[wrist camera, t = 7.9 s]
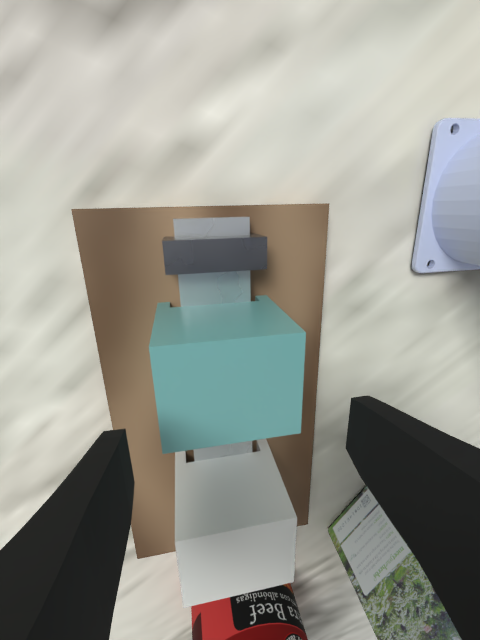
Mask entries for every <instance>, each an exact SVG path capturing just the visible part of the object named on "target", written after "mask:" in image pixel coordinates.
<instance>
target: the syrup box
mask: <svg viewBox="0 0 480 640" xmlns="http://www.w3.org/2000/svg"><path fill="white" fill-rule="evenodd" d="M328 532H329V535H330V537H331V539H332V541H333V543H334V546H335V548H336V550H337V552H338V554H339V556H340V558H341V561H342V563H343V565H344V567H345V569H346V571H347V574H348V576H349V578H350V581H351V583H352V585H353V587H354V589H355V591H356V593H357V595H358V598H359V600H360V602H361V604H362V607H363V609H364V611H365V613H366V615H367V617H368V620H369V622H370V624H371V626H372V628H373V631H374V633H375V635H376V637H377V639H378V640H462V639H461V637H460V636H459V634H458V632H457V630H456V628H455V626H454V625H453V623H452V621H451V619H450V617H449V615H448V613H447V612H446V610H445V608H444V606H443V604H442V602H441V601H440V599H439V597H438V595H437V594H436V592H435V590H434V588H433V587H432V585H431V583H430V581H429V580H428V578H427V576H426V575H425V573H424V571H423V569H422V568H421V566H420V564H419V562H418V561H417V559H416V558H415V556H414V555H413V553H412V551H411V550H410V548H409V547H408V545H407V544H406V542H405V541H404V539H403V538H402V537H401V535H400V534H399V532H398V531H397V529H396V528H395V526H394V525H393V523H392V522H391V521H390V519H389V518H388V516H387V515H386V513H385V512H384V510H383V509H382V508H381V506H380V505H379V503H378V502H377V500H376V499H375V497H374V496H373V494H372V493H371V491H370V490H369V488H368V487H367V486H366V487H365V488H364V489H363V490H362V491H361V493H360V494H359V495H358V496H357V497H356V498H355V499H354V500H353V501H352V503H351V504H350V505H349V506H348V507H347V508H346V509H345V510H344V512H343V513H342V514H341V515H340V516H339V517H338V518H337V519H336V520H335V522H334V523H333V524H332V525H331V526H330V527H329V528H328Z"/></svg>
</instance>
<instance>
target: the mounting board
mask: <svg viewBox="0 0 480 640" xmlns="http://www.w3.org/2000/svg"><path fill="white" fill-rule="evenodd" d="M71 210H72V215H73V220H74V225H75V231H76V236H77V241H78V247H79V252H80V257H81V263H82V268H83V273H84V278H85V284H86V289H87V294H88V300H89V305H90V310H91V315H92V321H93V326H94V331H95V337H96V342H97V347H98V352H99V358H100V363H101V368H102V374H103V379H104V384H105V389H106V395H107V400H108V405H109V411H110V416H111V421H112V427H113V430H118V429H126V435H127V440H128V446H129V452H130V458H131V464H132V469H133V475H134V481H135V486H134V498H133V510H132V519H131V527H132V532H133V538H134V543H135V548H136V554H137V559H140V558H145V557H150V556H155V555H159V554H164V553H169V552H174V551H176V548H175V452H173V453H167V454H162V446H161V438H160V430H159V423H158V415H157V407H156V399H155V391H154V384H153V376H152V368H151V360H150V353H149V344H150V339H151V334H152V328H153V323H154V318H155V313H156V308H157V303H161V302H170V308H171V307H181V303H180V292H179V281H178V275H165V265H164V255H163V246H162V240H163V238H164V237H170V236H175V235H174V224H173V219H174V218H209V217H250V233H256V234H260V235H263V236H266V237H267V269H265V270H250V292H251V301H255V296H259V295H267V296H268V297H269V298H270V299H271V300H272V301H273V302H274V303H275V304H276V305H277V306H278V307H280V308H281V309H282V310H283V311H284V312H285V313H286V314H287V315H288V316H289V317H290V318H291V319H292V320H293V321H294V322H296V323H297V324H298V325H299V326H300V327H301V328H302V329H303V330H304V331H305V332H306V342H305V361H304V381H303V400H302V419H301V433H299V434H292V435H286V436H279V437H272V438H266V440H267V442H268V445H269V447H270V450H271V452H272V455H273V458H274V460H275V463H276V465H277V468H278V470H279V473H280V475H281V478H282V480H283V483H284V485H285V488H286V490H287V493H288V496H289V498H290V501H291V503H292V506H293V508H294V511H295V513H296V516H297V526H301V525H306V524H308V512H309V497H310V482H311V467H312V453H313V438H314V423H315V408H316V393H317V378H318V363H319V348H320V333H321V319H322V304H323V289H324V274H325V259H326V244H327V229H328V214H329V204H288V205H242V206H197V207H151V208H106V209H71ZM252 452H257V440H253V441H252ZM185 453H186V463H188V462H195V461H194V450H187V451H185Z"/></svg>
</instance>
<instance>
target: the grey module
mask: <svg viewBox="0 0 480 640" xmlns="http://www.w3.org/2000/svg"><path fill="white" fill-rule="evenodd" d="M296 531H297V516H296V513H295V511H294V508H293V506H292V503H291V501H290V498H289V496H288V493H287V490H286V488H285V485H284V483H283V480H282V478H281V475H280V473H279V470H278V468H277V465H276V463H275V460H274V458H273V455H272V452H271V450H270V447H269V445H268V442H267V440H266V439H259V440H257V452H251V453H245V454H239V455H232V456H226V457H220V458H214V459H207V460H201V461H195V462H188V463H186V453H185V451H180V452H175V548H176V555H177V563H178V571H179V579H180V586H181V594H182V602H183V608H186V607H190V606H194V605H199V604H203V603H207V602H211V601H216V600H220V599H224V598H228V597H232V596H237V595H241V594H245V593H249V592H254V591H258V590H262V589H266V588H271V587H275V586H279V585H283V584H287V583H292V582H294V570H295V550H296Z"/></svg>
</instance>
